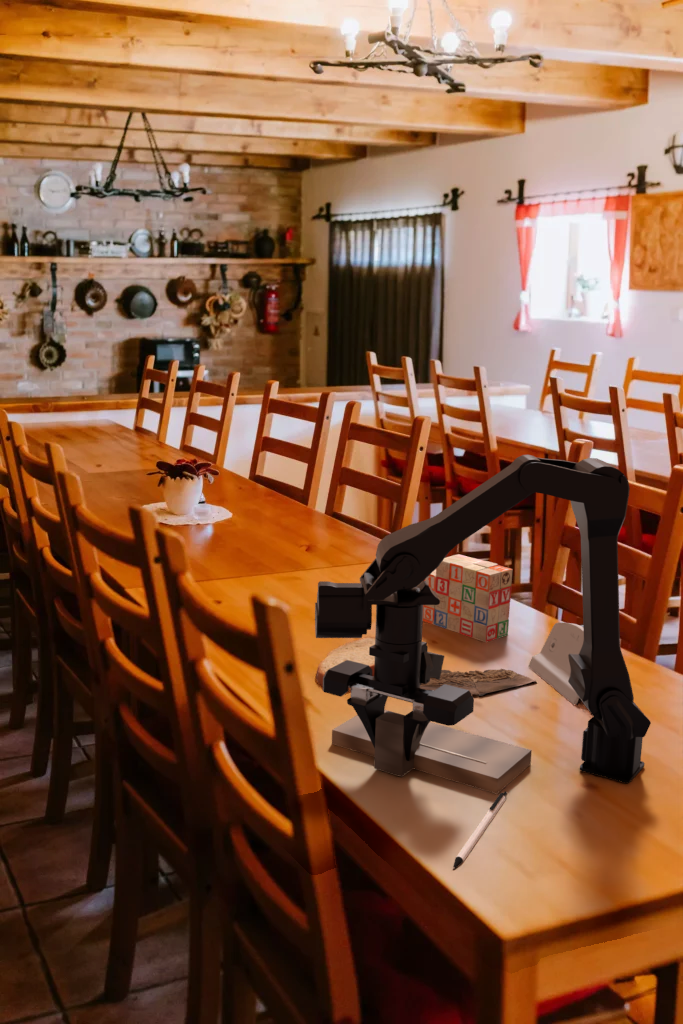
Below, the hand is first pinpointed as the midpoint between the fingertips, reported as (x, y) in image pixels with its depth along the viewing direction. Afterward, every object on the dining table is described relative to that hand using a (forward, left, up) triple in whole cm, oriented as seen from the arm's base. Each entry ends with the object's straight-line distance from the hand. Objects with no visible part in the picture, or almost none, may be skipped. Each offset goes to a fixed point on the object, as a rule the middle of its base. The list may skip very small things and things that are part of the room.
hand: (394, 755), depth 136 cm
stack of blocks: (+22, -57, -2) cm, 61 cm away
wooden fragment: (+8, -31, -3) cm, 32 cm away
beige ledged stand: (-7, -43, -2) cm, 43 cm away
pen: (-16, +7, -3) cm, 17 cm away
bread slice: (+22, -29, -3) cm, 36 cm away
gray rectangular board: (-1, -7, -2) cm, 7 cm away
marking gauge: (0, -2, -2) cm, 3 cm away
